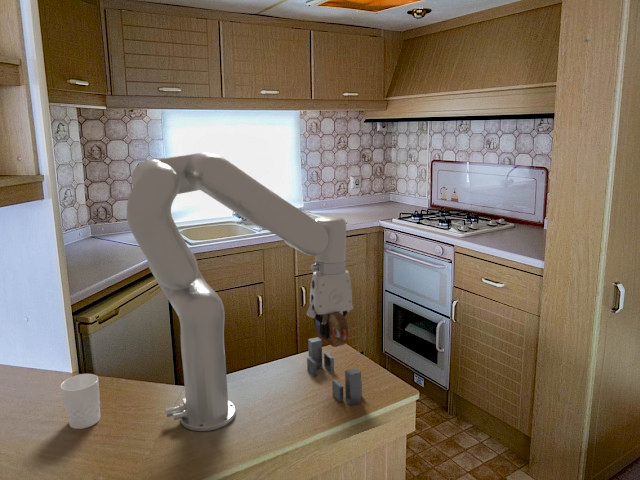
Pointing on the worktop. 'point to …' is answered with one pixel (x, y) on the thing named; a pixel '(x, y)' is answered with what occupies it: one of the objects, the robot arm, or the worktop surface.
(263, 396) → the worktop surface
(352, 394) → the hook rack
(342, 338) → the tin
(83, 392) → the white cup
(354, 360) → the worktop surface
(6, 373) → the worktop surface
